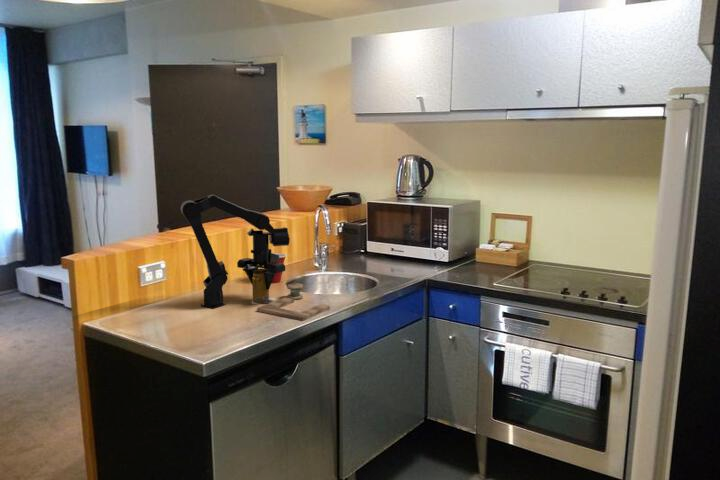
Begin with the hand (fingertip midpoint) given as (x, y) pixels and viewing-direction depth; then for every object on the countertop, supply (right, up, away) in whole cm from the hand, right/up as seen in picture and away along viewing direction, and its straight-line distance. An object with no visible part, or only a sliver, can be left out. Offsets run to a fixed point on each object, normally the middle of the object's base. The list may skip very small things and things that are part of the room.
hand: (261, 288), depth 217 cm
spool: (+12, -4, +5) cm, 14 cm away
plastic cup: (0, 0, +30) cm, 30 cm away
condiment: (+1, -5, +1) cm, 5 cm away
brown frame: (+13, -7, -10) cm, 18 cm away
